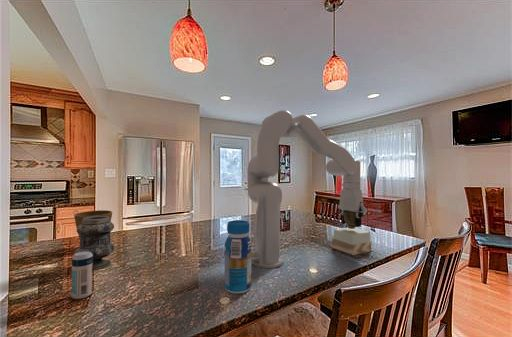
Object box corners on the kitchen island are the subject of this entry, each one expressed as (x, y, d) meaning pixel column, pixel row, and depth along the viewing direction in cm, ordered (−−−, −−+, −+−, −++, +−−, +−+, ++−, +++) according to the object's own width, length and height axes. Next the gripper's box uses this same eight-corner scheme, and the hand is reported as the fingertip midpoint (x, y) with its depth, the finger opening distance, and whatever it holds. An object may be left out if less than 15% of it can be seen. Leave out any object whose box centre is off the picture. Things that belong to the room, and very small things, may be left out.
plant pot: (71, 246, 114) (72, 212, 115) (108, 240, 124) (108, 209, 125) (75, 254, 103) (76, 216, 104) (115, 247, 113) (115, 213, 114)
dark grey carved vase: (116, 258, 99) (116, 213, 100) (110, 269, 88) (111, 219, 88) (80, 262, 95) (81, 215, 95) (70, 274, 84) (71, 221, 84)
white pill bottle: (95, 291, 72) (96, 250, 72) (84, 300, 67) (85, 256, 67) (78, 291, 71) (79, 250, 72) (66, 300, 67) (67, 256, 67)
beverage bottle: (218, 287, 75) (218, 221, 75) (239, 279, 80) (239, 218, 81) (236, 297, 69) (236, 226, 69) (257, 288, 74) (257, 222, 75)
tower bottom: (353, 255, 105) (353, 245, 105) (332, 248, 116) (332, 238, 116) (371, 251, 111) (371, 241, 111) (349, 244, 121) (349, 235, 122)
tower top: (352, 245, 106) (352, 234, 106) (333, 238, 116) (333, 229, 116) (370, 242, 110) (370, 232, 111) (350, 236, 120) (350, 227, 120)
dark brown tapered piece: (357, 226, 116) (357, 209, 116) (362, 230, 109) (362, 212, 109) (341, 226, 117) (341, 209, 117) (345, 229, 110) (345, 211, 110)
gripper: (331, 185, 119) (331, 222, 119) (362, 187, 104) (362, 229, 104) (342, 185, 123) (342, 221, 122) (373, 187, 107) (373, 228, 107)
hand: (351, 224), depth 113 cm, fingers closed on dark brown tapered piece, 6 cm apart
